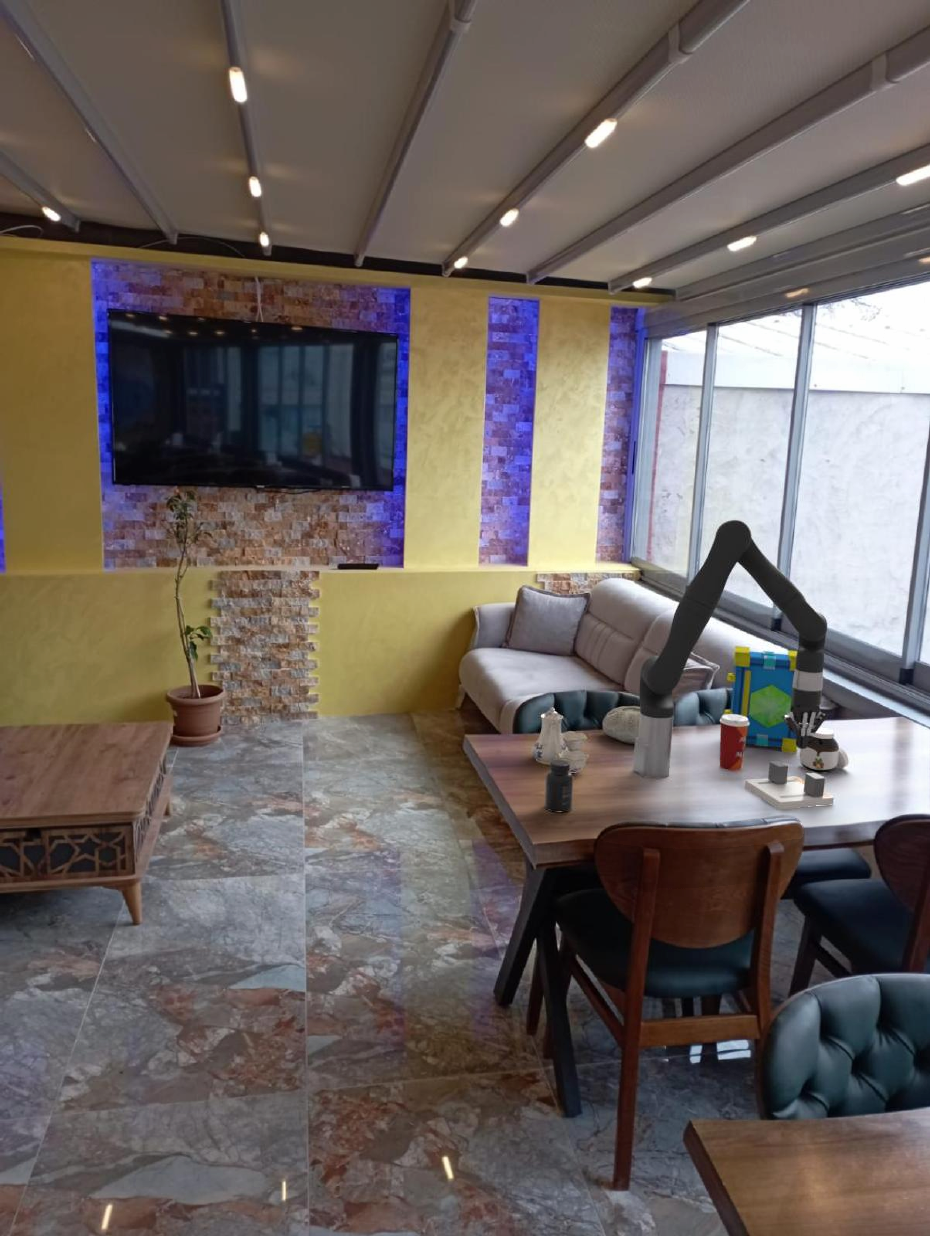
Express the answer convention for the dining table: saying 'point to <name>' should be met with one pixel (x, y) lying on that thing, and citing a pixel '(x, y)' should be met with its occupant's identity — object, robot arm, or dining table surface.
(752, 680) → the blue yellow rectangular box
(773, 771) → the block
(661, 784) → the dining table surface
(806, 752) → the spread jar
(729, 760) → the coffee cup
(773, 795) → the panel
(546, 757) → the chinaware
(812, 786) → the breaker
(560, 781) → the supplement bottle
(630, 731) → the decorative shell
